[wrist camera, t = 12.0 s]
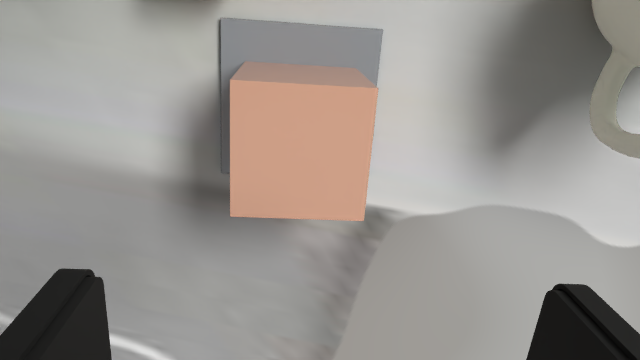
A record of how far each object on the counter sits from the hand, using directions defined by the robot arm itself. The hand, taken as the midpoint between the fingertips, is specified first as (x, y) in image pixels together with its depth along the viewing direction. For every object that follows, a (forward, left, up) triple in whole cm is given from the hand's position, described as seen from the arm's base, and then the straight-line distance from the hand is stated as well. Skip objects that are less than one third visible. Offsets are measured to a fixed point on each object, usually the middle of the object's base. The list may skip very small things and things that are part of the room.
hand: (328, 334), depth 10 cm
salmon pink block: (0, 0, -22) cm, 22 cm away
